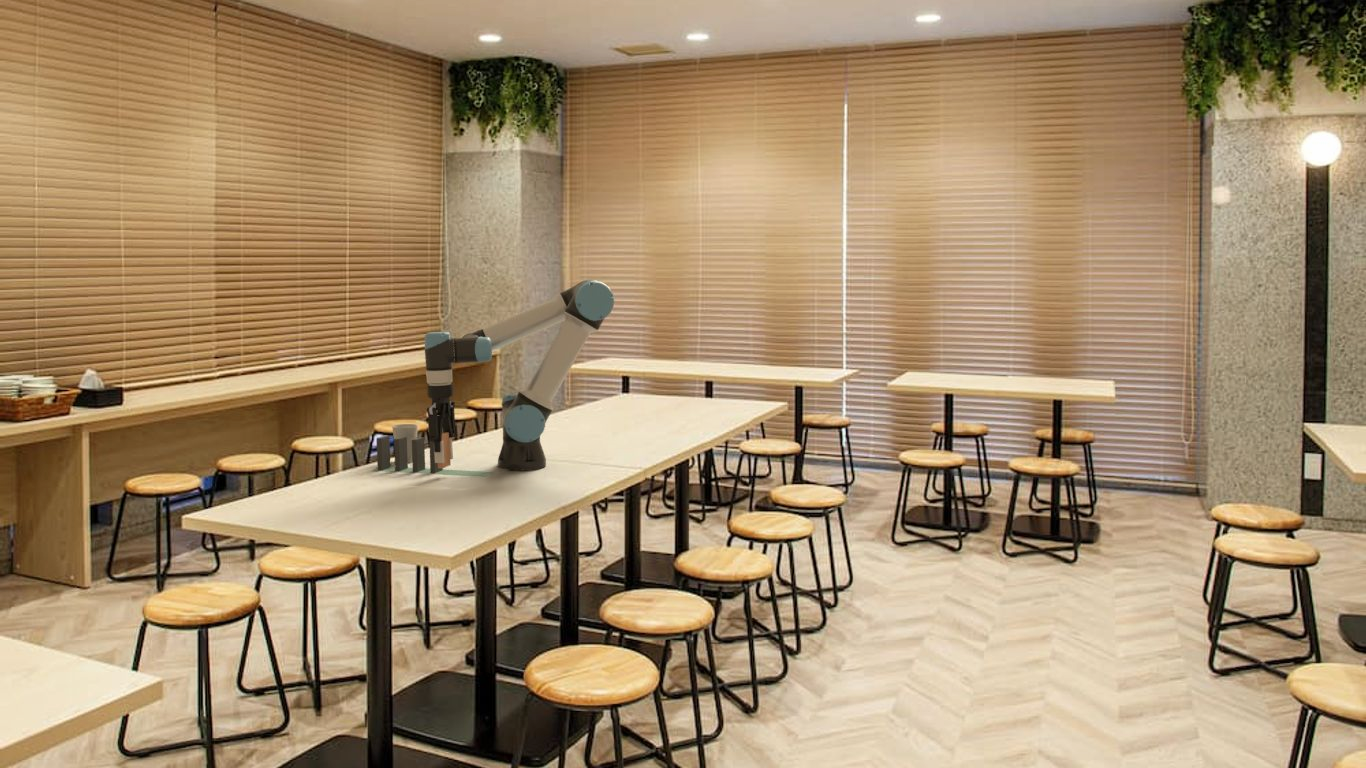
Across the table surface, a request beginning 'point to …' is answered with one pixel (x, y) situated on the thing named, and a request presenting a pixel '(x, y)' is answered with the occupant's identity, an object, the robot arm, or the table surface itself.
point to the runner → (441, 472)
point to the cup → (408, 432)
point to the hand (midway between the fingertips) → (444, 460)
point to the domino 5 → (445, 451)
